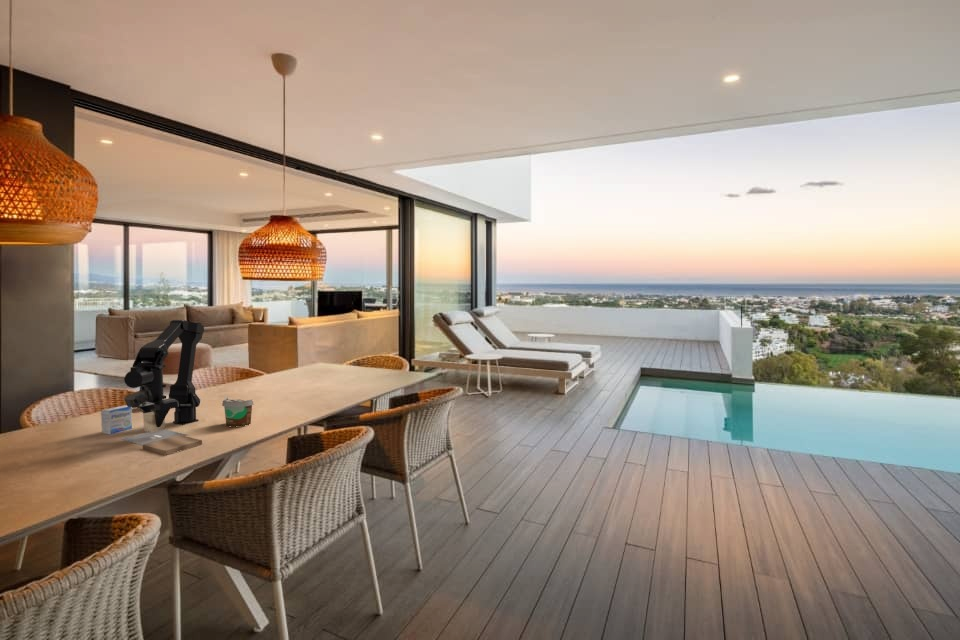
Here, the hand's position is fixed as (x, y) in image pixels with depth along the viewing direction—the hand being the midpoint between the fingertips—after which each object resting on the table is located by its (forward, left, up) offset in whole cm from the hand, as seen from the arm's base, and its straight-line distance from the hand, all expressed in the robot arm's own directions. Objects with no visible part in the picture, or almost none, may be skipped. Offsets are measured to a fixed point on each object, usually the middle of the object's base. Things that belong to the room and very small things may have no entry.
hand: (154, 426), depth 169 cm
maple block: (0, 0, -1) cm, 1 cm away
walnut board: (+3, +15, -4) cm, 16 cm away
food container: (-23, +11, -4) cm, 26 cm away
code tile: (0, 0, -4) cm, 4 cm away
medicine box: (+2, -19, -4) cm, 20 cm away
